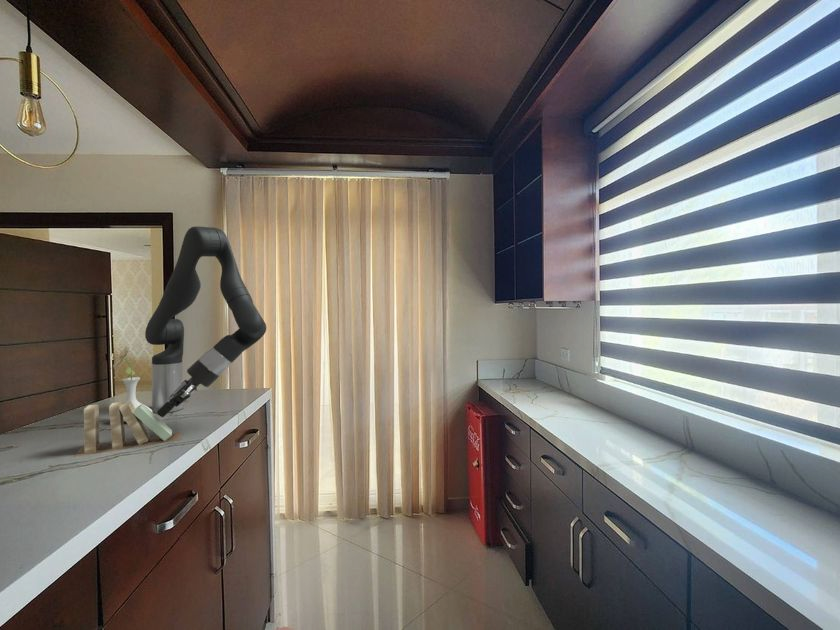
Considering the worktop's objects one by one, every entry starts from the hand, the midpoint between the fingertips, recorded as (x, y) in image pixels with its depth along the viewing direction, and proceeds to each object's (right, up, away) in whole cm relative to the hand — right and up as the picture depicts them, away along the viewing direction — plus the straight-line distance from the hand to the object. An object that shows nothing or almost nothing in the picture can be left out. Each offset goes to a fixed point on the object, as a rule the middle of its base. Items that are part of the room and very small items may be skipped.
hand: (159, 414), depth 103 cm
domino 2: (-3, -6, -2) cm, 7 cm away
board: (-5, -8, -3) cm, 10 cm away
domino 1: (-7, -7, -5) cm, 11 cm away
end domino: (-12, -7, -7) cm, 16 cm away
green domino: (+2, -6, +1) cm, 7 cm away
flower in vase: (-24, -8, +21) cm, 33 cm away
